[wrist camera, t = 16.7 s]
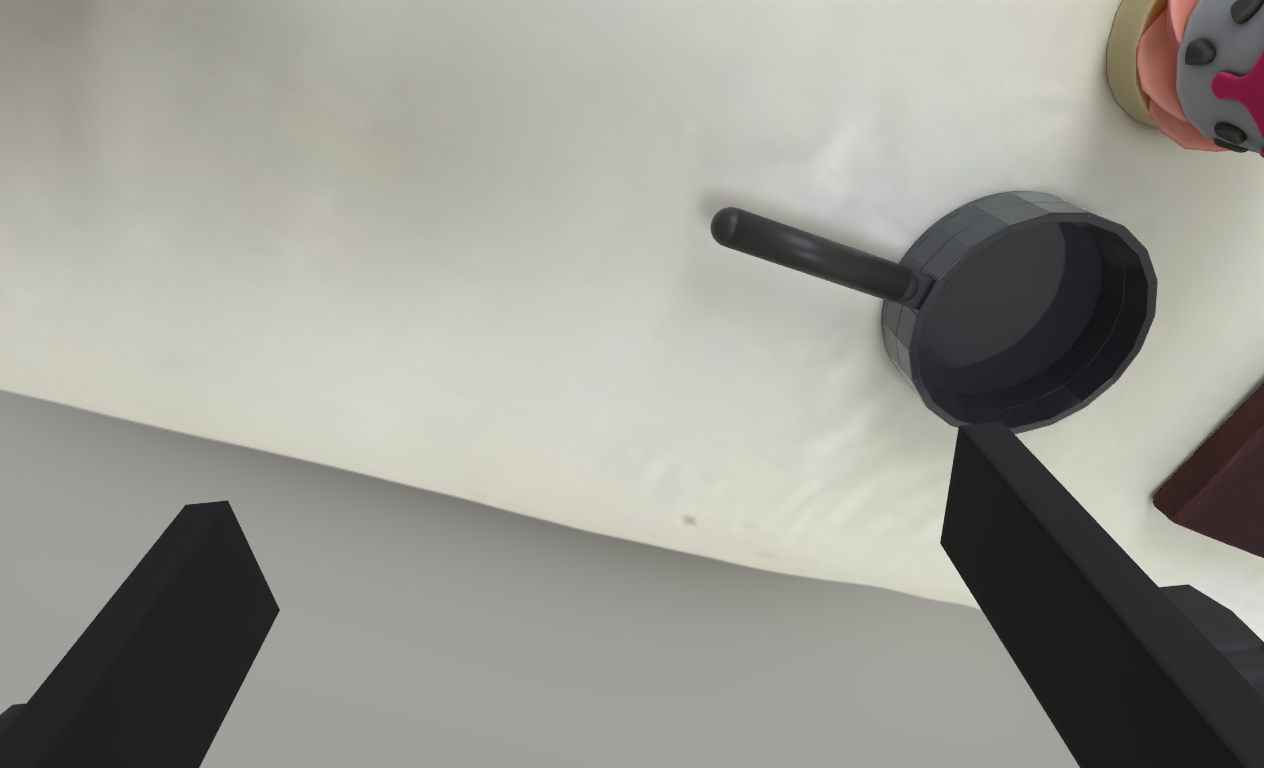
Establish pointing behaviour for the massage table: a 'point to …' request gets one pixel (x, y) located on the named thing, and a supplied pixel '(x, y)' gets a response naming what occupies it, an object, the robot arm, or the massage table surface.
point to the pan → (1021, 311)
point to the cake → (1192, 70)
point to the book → (1224, 483)
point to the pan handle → (820, 257)
